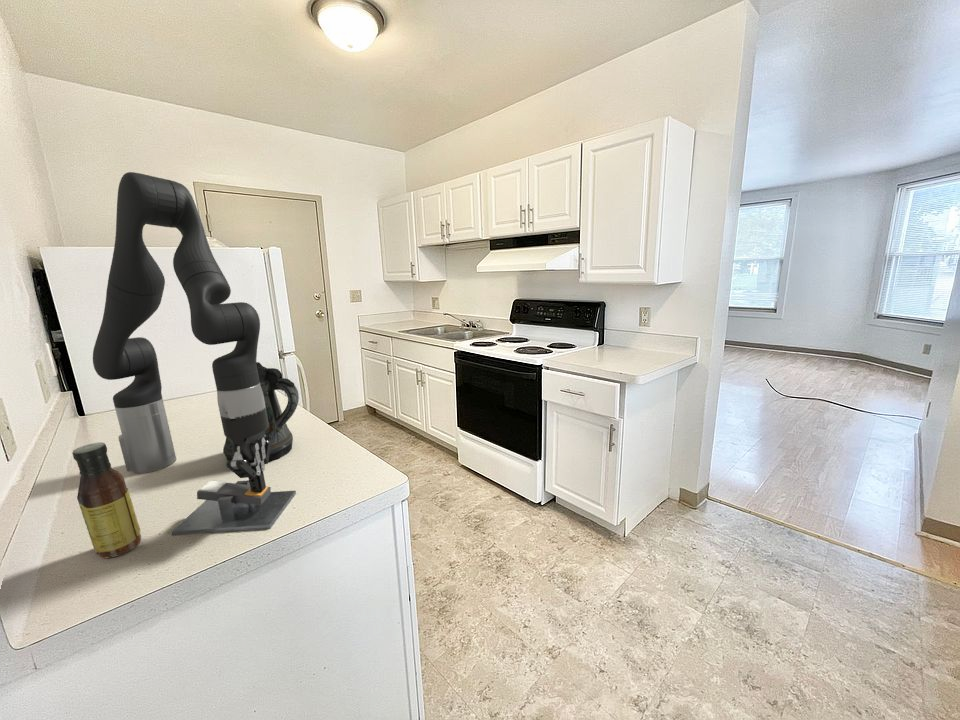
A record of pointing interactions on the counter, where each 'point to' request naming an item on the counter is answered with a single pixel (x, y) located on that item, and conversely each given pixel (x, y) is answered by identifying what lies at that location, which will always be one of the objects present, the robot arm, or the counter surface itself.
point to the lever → (232, 492)
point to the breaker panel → (235, 514)
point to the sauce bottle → (105, 503)
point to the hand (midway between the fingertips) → (258, 490)
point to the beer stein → (274, 413)
